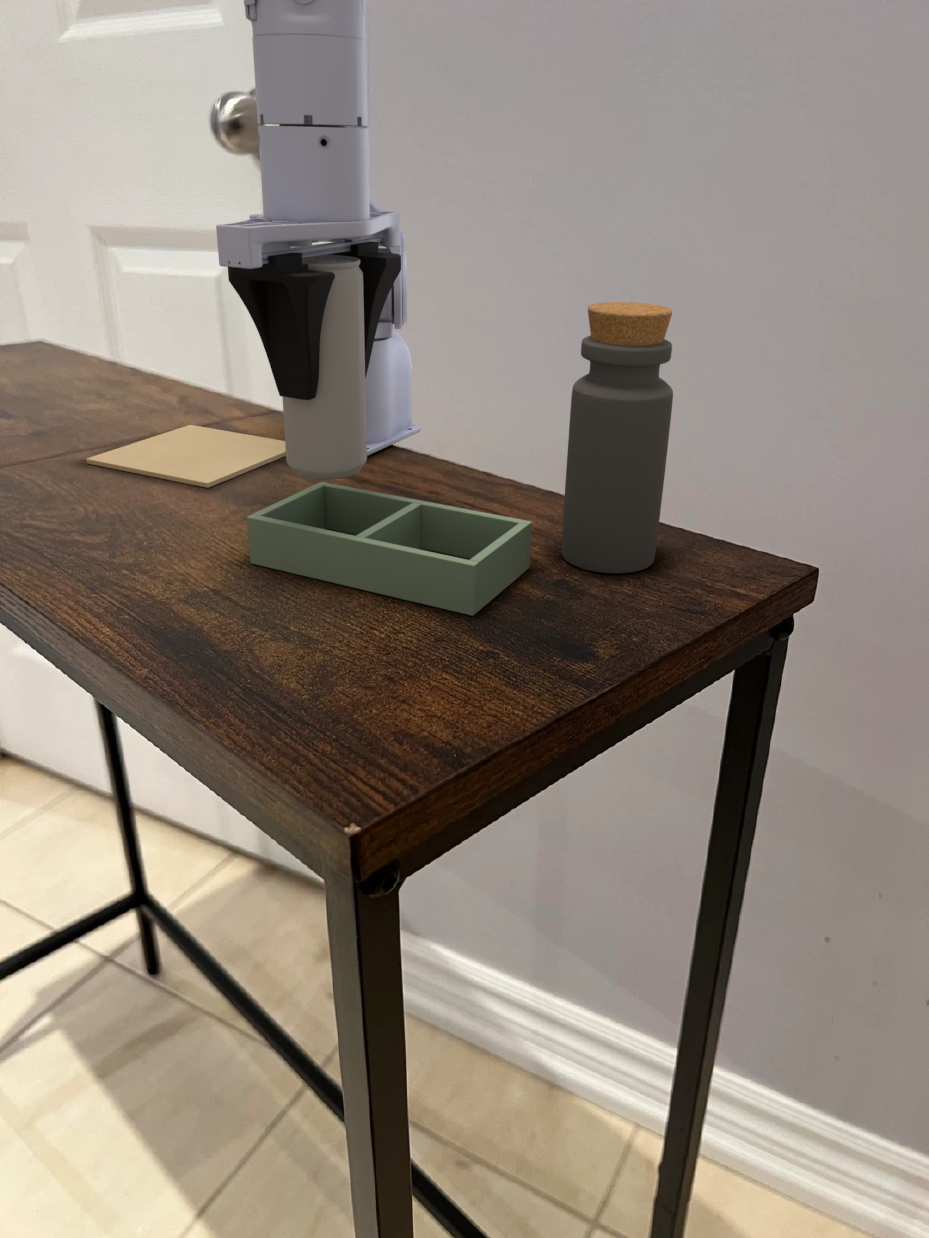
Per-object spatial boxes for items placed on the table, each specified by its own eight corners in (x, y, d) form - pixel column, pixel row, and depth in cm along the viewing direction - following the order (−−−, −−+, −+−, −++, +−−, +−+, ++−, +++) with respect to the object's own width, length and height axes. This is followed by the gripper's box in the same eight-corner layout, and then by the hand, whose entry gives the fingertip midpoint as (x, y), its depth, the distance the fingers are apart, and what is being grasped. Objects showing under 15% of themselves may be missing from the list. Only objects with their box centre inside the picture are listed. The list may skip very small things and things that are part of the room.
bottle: (608, 533, 65) (629, 297, 59) (674, 561, 61) (705, 310, 55) (541, 551, 62) (555, 304, 56) (606, 582, 58) (629, 319, 51)
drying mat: (190, 429, 86) (190, 424, 86) (303, 448, 82) (303, 444, 81) (86, 463, 77) (85, 458, 77) (208, 488, 72) (207, 482, 72)
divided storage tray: (323, 524, 66) (321, 481, 64) (530, 567, 60) (532, 521, 58) (249, 563, 59) (246, 516, 58) (472, 616, 53) (474, 565, 52)
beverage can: (272, 465, 60) (259, 256, 55) (342, 453, 63) (335, 252, 57) (310, 486, 57) (300, 266, 51) (382, 473, 59) (379, 261, 54)
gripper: (327, 128, 59) (335, 359, 65) (157, 122, 47) (186, 404, 53) (431, 130, 56) (429, 371, 62) (277, 125, 44) (294, 422, 50)
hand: (324, 387), depth 57 cm, fingers closed on beverage can, 5 cm apart
